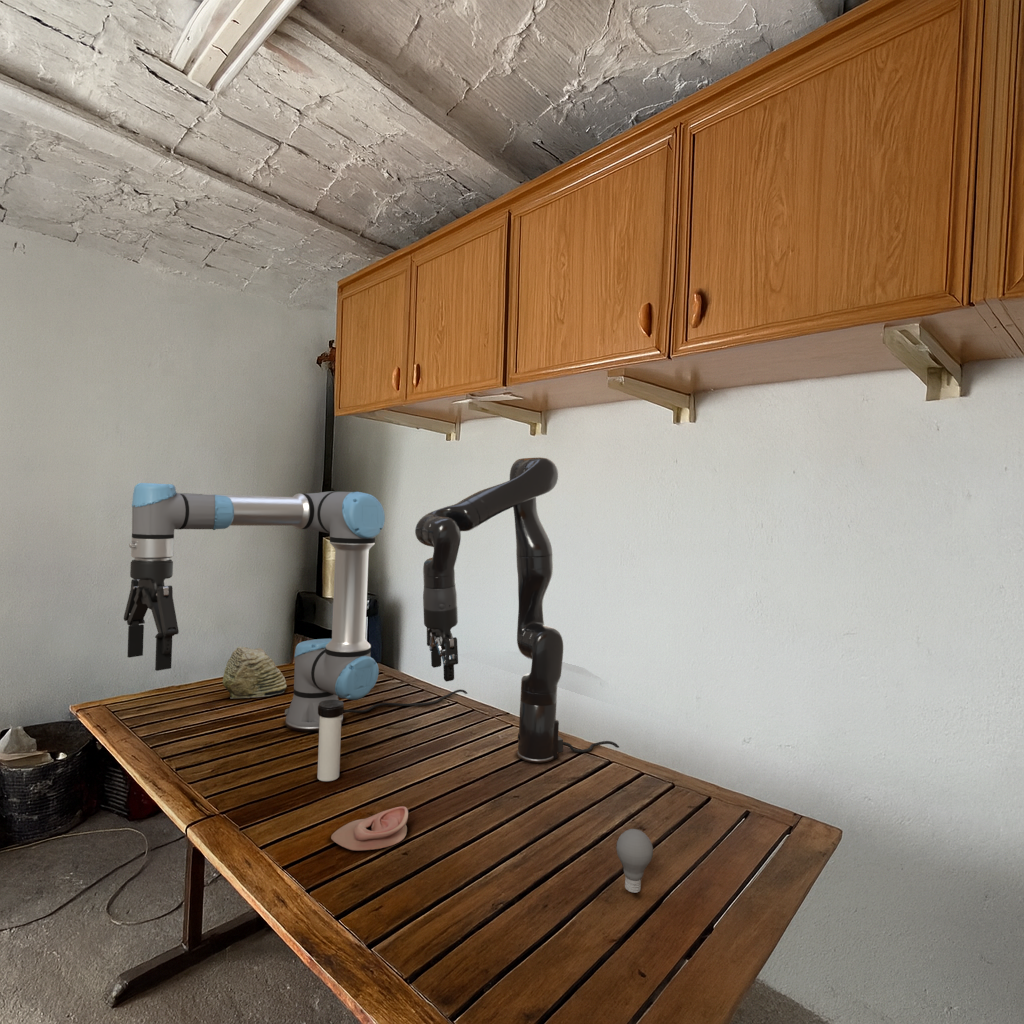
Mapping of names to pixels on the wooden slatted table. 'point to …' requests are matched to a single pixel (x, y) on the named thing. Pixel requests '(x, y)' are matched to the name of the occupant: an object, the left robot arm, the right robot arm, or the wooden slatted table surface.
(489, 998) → the wooden slatted table surface
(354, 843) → the anatomical model
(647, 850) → the light bulb
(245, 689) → the fossil
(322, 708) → the lid
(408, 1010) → the wooden slatted table surface
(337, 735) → the jar
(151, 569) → the left robot arm
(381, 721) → the wooden slatted table surface
